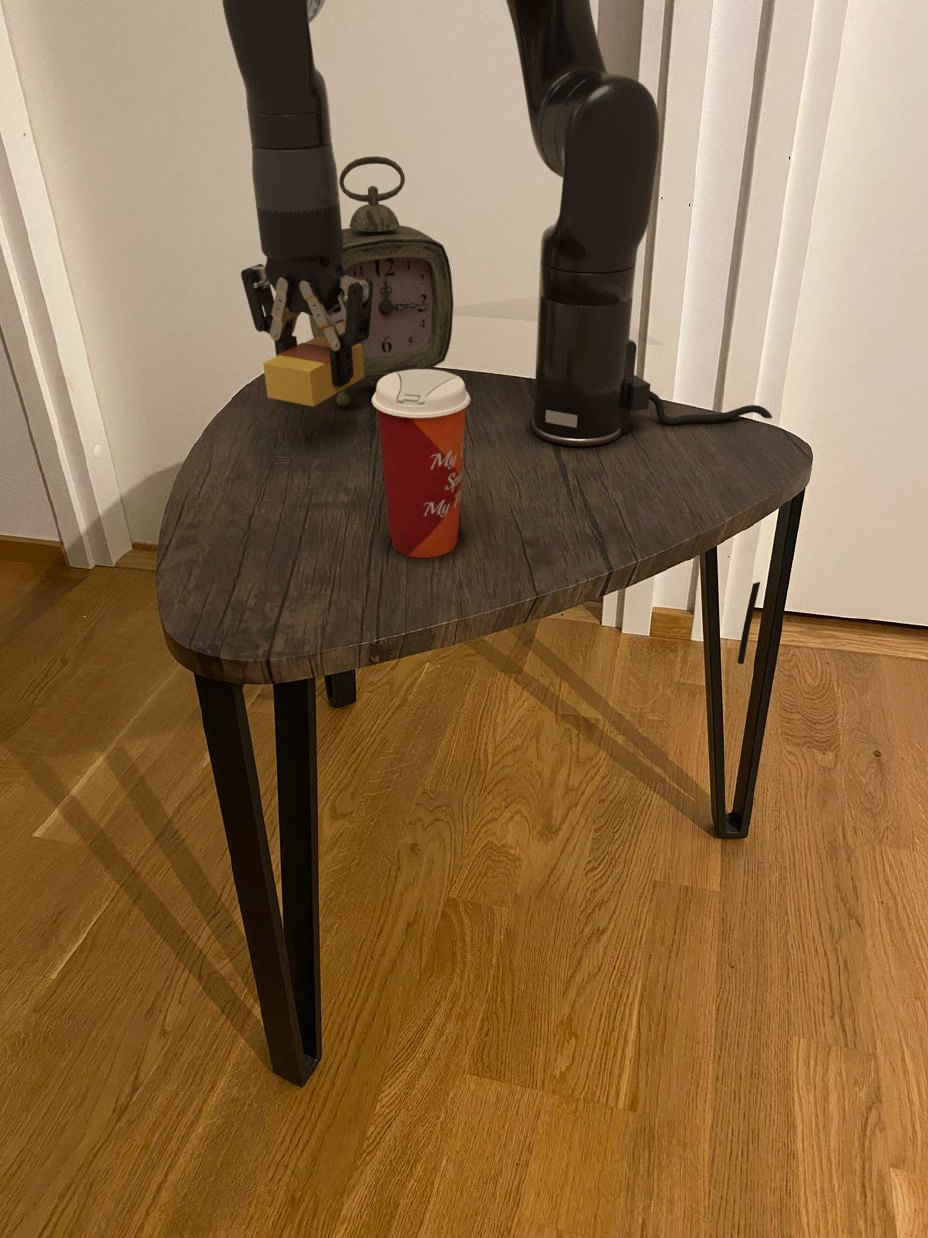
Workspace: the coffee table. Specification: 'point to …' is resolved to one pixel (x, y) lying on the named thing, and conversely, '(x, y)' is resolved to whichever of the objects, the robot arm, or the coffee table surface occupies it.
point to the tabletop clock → (395, 286)
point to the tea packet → (307, 373)
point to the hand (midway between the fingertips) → (315, 378)
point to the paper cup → (422, 457)
